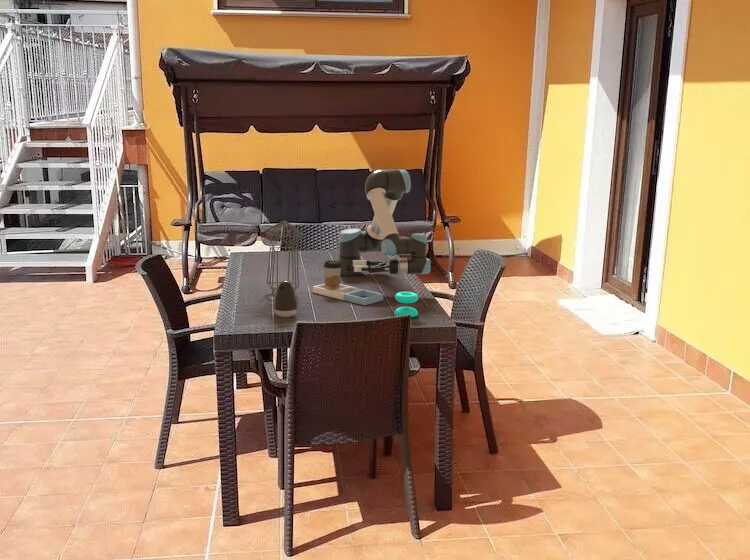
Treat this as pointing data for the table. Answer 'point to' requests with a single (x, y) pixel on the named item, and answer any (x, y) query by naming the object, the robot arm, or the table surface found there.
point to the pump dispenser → (285, 300)
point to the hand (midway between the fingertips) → (353, 266)
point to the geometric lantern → (283, 251)
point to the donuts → (406, 298)
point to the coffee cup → (332, 274)
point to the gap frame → (350, 294)
